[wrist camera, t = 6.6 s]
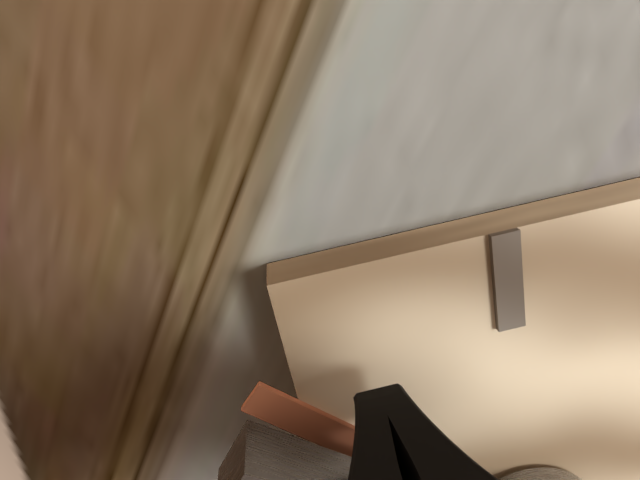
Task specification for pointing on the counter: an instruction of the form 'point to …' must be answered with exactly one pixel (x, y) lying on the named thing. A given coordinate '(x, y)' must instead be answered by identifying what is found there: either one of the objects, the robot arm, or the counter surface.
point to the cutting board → (477, 334)
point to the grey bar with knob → (311, 460)
